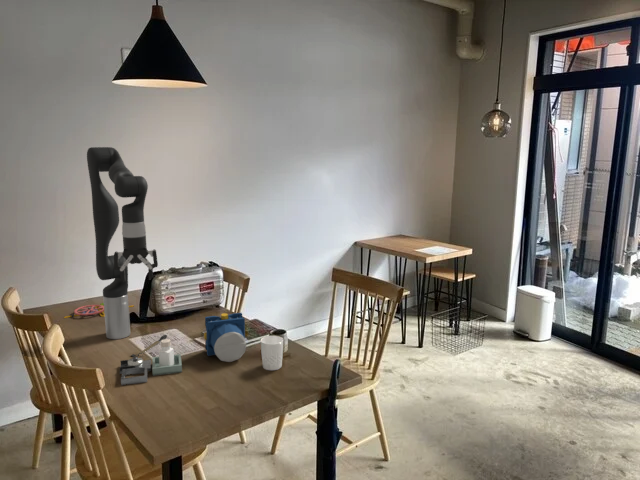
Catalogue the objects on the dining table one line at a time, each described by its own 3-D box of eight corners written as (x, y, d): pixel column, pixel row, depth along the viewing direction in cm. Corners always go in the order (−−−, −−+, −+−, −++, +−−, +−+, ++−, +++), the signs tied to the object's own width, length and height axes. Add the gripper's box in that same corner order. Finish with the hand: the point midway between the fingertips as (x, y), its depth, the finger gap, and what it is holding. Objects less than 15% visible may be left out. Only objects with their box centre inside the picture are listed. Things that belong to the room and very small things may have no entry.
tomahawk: (145, 362, 186) (145, 359, 186) (130, 358, 188) (130, 355, 188) (177, 339, 206) (177, 337, 206) (163, 336, 208) (163, 334, 207)
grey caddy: (121, 366, 180) (120, 355, 179) (151, 362, 183) (150, 352, 182) (118, 385, 166) (117, 374, 165) (150, 381, 169) (149, 370, 168)
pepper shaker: (175, 364, 181) (173, 339, 179) (169, 369, 177) (168, 343, 175) (164, 363, 181) (163, 338, 180) (158, 368, 178) (157, 342, 176)
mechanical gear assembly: (61, 314, 234) (67, 325, 222) (61, 305, 233) (66, 316, 221) (129, 302, 250) (137, 312, 238) (129, 294, 249) (137, 304, 237)
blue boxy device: (203, 349, 194) (203, 314, 189) (242, 344, 199) (243, 309, 194) (210, 368, 182) (209, 331, 177) (251, 362, 188) (251, 325, 183)
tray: (153, 364, 182) (152, 357, 182) (180, 360, 185) (180, 354, 184) (152, 375, 173) (152, 368, 173) (182, 372, 176) (181, 365, 175)
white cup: (286, 363, 183) (286, 337, 181) (278, 372, 176) (277, 345, 174) (266, 360, 186) (266, 334, 184) (257, 369, 179) (256, 342, 177)
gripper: (155, 231, 182) (158, 275, 185) (112, 233, 177) (116, 278, 181) (155, 235, 175) (158, 281, 178) (111, 237, 170) (114, 284, 174)
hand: (137, 280), depth 179 cm, fingers open, 8 cm apart
